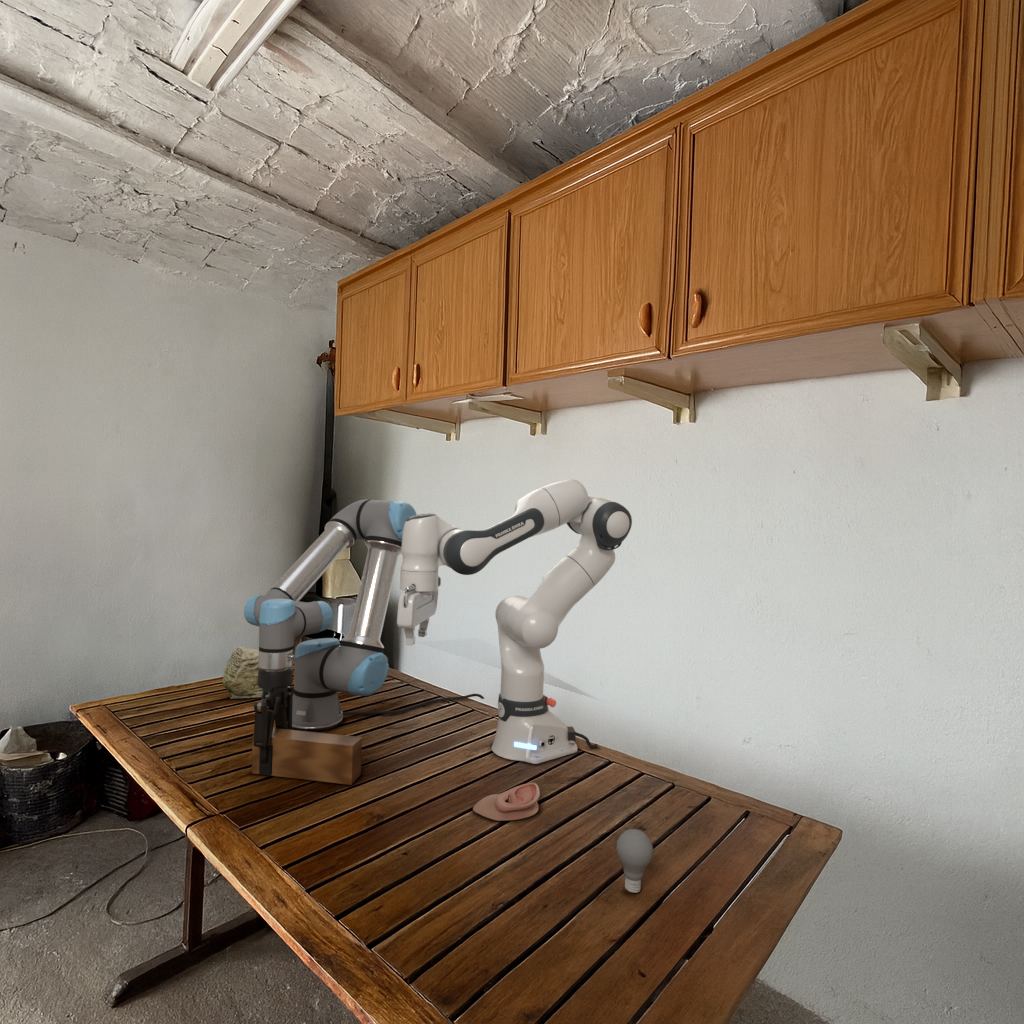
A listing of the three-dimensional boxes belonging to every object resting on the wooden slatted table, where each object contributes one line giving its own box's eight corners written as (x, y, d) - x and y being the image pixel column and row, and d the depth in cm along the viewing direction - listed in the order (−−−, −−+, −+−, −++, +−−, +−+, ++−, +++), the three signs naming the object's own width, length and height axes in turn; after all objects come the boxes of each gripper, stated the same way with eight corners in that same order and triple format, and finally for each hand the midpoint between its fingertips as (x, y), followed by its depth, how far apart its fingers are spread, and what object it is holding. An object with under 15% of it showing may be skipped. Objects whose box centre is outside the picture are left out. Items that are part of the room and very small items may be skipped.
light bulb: (610, 879, 108) (613, 822, 108) (644, 879, 109) (647, 822, 109) (619, 902, 102) (622, 840, 102) (655, 901, 103) (658, 840, 103)
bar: (251, 773, 143) (252, 735, 143) (263, 763, 148) (265, 726, 148) (351, 785, 139) (352, 745, 139) (360, 774, 145) (362, 737, 144)
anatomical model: (469, 797, 128) (483, 773, 139) (468, 816, 128) (482, 791, 139) (534, 806, 125) (543, 781, 136) (533, 826, 125) (542, 799, 136)
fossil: (218, 695, 195) (220, 647, 195) (278, 685, 208) (279, 640, 207) (228, 703, 189) (230, 653, 188) (289, 692, 201) (290, 645, 201)
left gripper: (269, 680, 135) (266, 788, 136) (309, 659, 153) (306, 754, 154) (237, 677, 136) (234, 784, 137) (280, 656, 154) (277, 750, 155)
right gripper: (418, 588, 139) (416, 651, 139) (442, 578, 159) (440, 632, 159) (391, 587, 139) (388, 649, 140) (418, 576, 160) (416, 631, 160)
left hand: (272, 768), depth 145 cm, fingers closed on bar, 5 cm apart
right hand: (416, 640), depth 150 cm, fingers open, 8 cm apart
